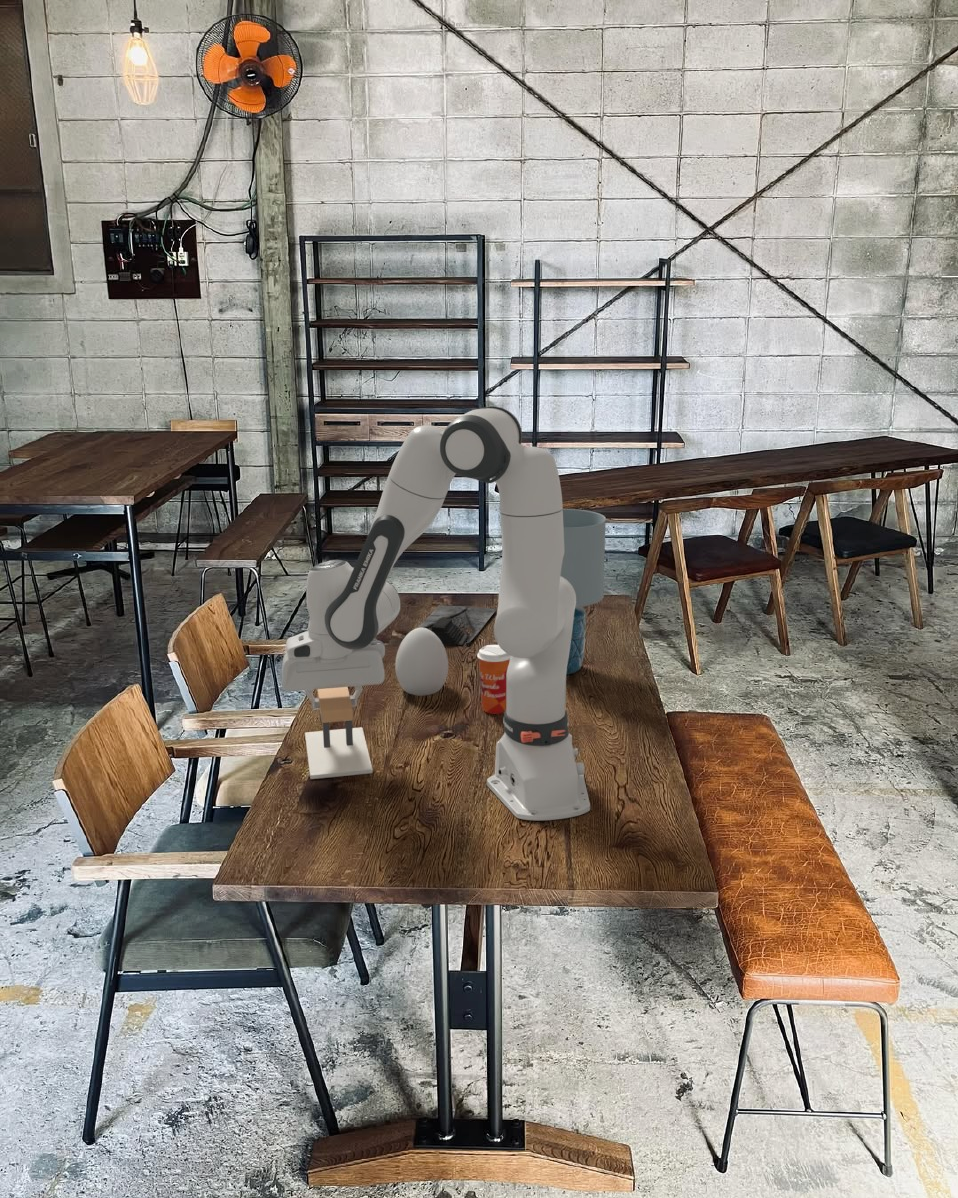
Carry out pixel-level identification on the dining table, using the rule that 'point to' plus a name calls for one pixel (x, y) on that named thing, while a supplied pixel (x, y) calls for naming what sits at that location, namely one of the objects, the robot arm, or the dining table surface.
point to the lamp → (583, 571)
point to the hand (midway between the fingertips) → (334, 706)
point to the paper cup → (493, 678)
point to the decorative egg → (421, 663)
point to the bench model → (335, 711)
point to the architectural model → (457, 623)
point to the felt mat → (337, 754)
